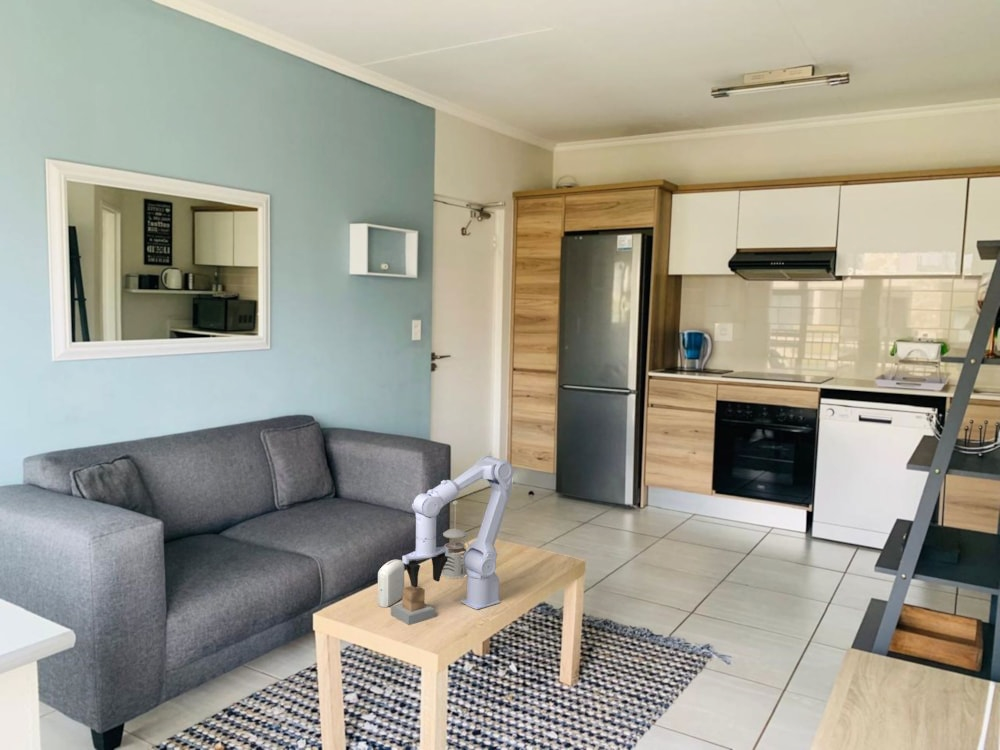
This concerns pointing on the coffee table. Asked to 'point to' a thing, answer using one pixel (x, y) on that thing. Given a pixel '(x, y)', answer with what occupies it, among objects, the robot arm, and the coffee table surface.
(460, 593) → the coffee table surface
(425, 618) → the plinth
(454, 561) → the french press
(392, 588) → the photo printer
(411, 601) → the walnut block
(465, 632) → the coffee table surface
